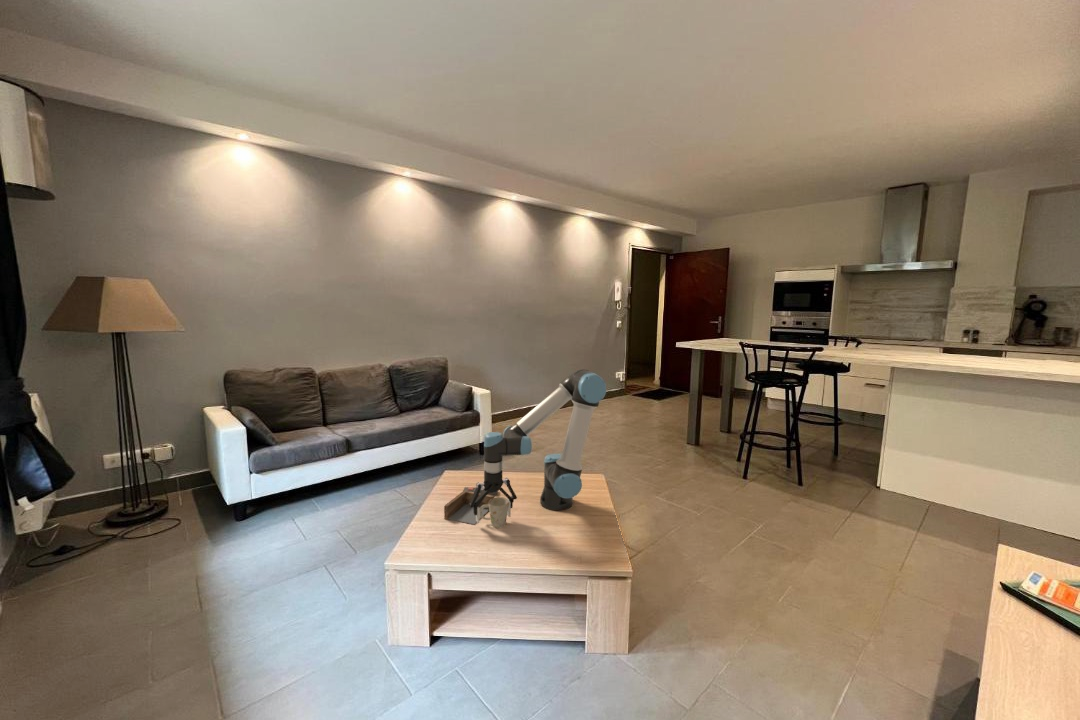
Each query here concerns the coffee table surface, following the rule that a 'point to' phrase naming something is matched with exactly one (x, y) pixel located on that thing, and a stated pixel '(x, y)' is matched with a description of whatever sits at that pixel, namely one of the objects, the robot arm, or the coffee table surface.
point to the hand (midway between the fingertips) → (493, 518)
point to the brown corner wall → (462, 503)
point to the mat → (467, 515)
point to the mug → (496, 511)
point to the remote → (480, 490)
